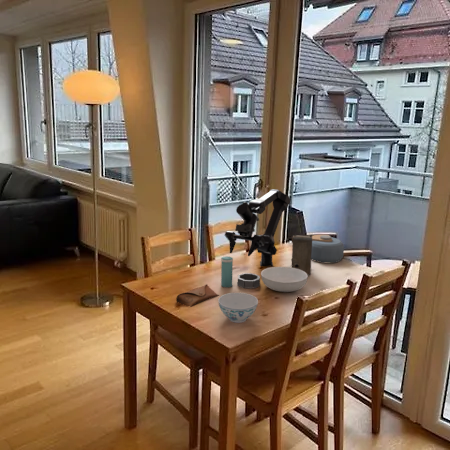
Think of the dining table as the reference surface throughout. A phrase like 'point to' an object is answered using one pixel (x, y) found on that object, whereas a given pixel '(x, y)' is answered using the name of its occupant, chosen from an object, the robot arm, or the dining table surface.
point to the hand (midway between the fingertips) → (239, 254)
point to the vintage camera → (302, 253)
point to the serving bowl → (284, 278)
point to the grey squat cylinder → (326, 249)
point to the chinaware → (238, 306)
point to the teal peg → (226, 271)
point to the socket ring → (248, 280)
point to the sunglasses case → (196, 296)
